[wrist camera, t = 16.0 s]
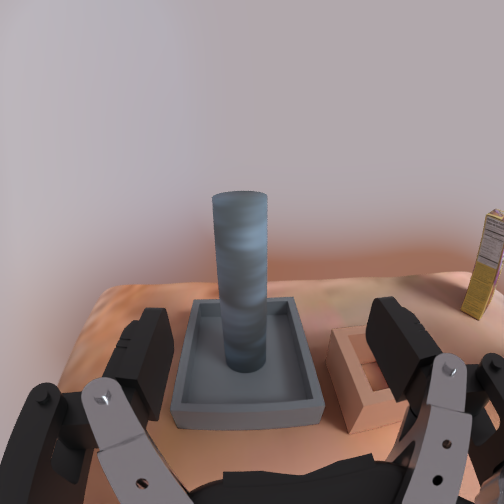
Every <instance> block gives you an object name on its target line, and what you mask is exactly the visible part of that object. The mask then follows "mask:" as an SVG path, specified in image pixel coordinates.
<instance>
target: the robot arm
mask: <svg viewBox="0 0 504 504" xmlns="http://www.w3.org/2000/svg"><path fill="white" fill-rule="evenodd" d="M365 334H366V341H367V344H368V346H369V348H370V350H371V351H372V353H373V355H374V357H375V359H376V361H377V363H378V365H379V367H380V369H381V372H382V374H383V376H384V378H385V380H386V382H387V384H388V386H389V388H390V390H391V392H392V394H393V397H394V399H395V401H396V403H398V402H402V401H405V400H408V403H409V405H408V406H407V408H406V411H405V414H404V418H403V421H402V424H401V427H400V430H399V433H398V436H397V439H396V441H395V444H394V446H393V449H392V450H391V452H390V454H389V455H388V457H387V459H386V460H385V461H374V459H373V456H372V453H370V454H366V455H362V456H358V457H354V458H350V459H346V460H341V461H337V462H335V463H333V464H331V465H328V466H326V467H323V468H321V469H318V470H316V471H313V472H311V473H308V474H305V475H289V474H280V473H273V472H266V471H247V472H223V479H221V480H216V481H213V482H210V483H207V484H204V485H202V486H200V487H198V488H196V489H194V490H192V491H191V492H189V491H188V490H187V488H186V487H185V486H184V484H183V483H182V482H181V481H180V479H179V478H178V477H177V475H176V474H175V473H174V471H173V470H172V469H171V467H170V466H169V464H168V463H167V462H166V460H165V459H164V457H163V456H162V454H161V453H160V451H159V450H158V448H157V446H156V445H155V443H154V442H153V440H152V439H151V437H150V435H149V434H148V432H147V430H146V426H147V422H148V420H150V421H158V419H159V414H160V410H161V405H162V401H163V396H164V392H165V387H166V383H167V379H168V374H169V370H170V366H171V362H172V358H173V354H174V340H173V335H172V331H171V327H170V323H169V319H168V314H167V311H166V309H165V308H145V309H144V311H143V313H142V316H141V318H140V320H139V321H138V320H133V321H132V322H131V323H130V324H129V325H128V326H127V327H126V328H124V330H123V332H122V334H121V337H120V340H119V341H118V343H117V345H116V348H115V349H114V351H113V353H112V356H111V358H110V360H109V362H108V364H107V367H106V369H105V371H104V373H103V376H102V378H97V379H94V380H92V381H91V382H89V383H88V384H87V385H86V386H85V387H84V389H83V391H81V392H72V393H61V392H60V390H59V389H58V387H57V386H56V385H54V384H52V383H41V384H39V385H37V386H36V387H34V388H33V389H32V390H31V392H30V393H29V395H28V397H27V399H26V402H25V404H24V406H23V408H22V410H21V412H20V415H19V417H18V419H17V422H16V424H15V426H14V429H13V431H12V434H11V436H10V439H9V441H8V444H7V447H6V450H5V452H4V455H3V458H2V461H1V464H0V504H83V501H84V495H85V489H86V484H87V479H88V474H89V469H90V464H91V460H92V455H93V451H94V448H99V449H100V451H99V452H97V456H98V459H99V462H100V464H101V466H102V468H103V471H104V473H105V475H106V477H107V479H108V481H109V483H110V485H111V487H112V489H113V491H114V493H115V494H116V496H117V498H118V500H119V502H120V503H121V504H504V358H503V357H501V356H500V355H498V354H495V353H488V354H486V355H485V356H484V357H483V359H482V360H481V362H480V364H467V365H465V363H464V362H463V360H462V359H460V358H459V357H458V356H456V355H454V354H450V353H443V352H442V351H441V349H440V348H439V347H438V345H437V344H436V343H435V341H434V340H433V338H432V337H431V336H430V334H429V333H428V332H427V330H426V331H425V328H424V327H423V325H422V324H420V321H419V320H418V319H417V317H416V316H415V315H414V314H413V313H412V312H410V311H409V310H407V309H406V308H404V307H401V306H400V304H399V303H398V302H397V300H396V299H395V298H394V297H392V296H391V297H382V298H375V299H374V301H373V303H372V307H371V311H370V315H369V319H368V323H367V326H366V333H365ZM489 400H490V401H491V402H492V404H493V406H494V408H495V410H496V411H497V413H498V415H499V417H500V426H499V428H498V430H497V431H496V429H495V427H494V425H493V423H492V421H491V419H490V418H489V416H488V414H487V412H486V410H485V408H484V407H485V405H486V404H487V403H488V402H489ZM56 440H57V441H56ZM55 443H56V444H55ZM54 446H55V448H54ZM53 450H54V451H53ZM52 453H53V454H52ZM467 454H469V457H470V459H471V462H472V464H473V467H474V470H475V472H476V475H477V478H478V481H479V484H480V487H481V488H480V493H479V494H478V495H477V496H476V497H475V503H473V502H471V501H468V500H466V499H464V498H462V497H460V496H458V494H459V490H460V486H461V482H462V478H463V474H464V470H465V465H466V460H467ZM51 456H52V458H51Z"/></svg>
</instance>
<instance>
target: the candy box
mask: <svg viewBox="0 0 504 504" xmlns="http://www.w3.org/2000/svg"><path fill="white" fill-rule="evenodd" d="M503 262H504V211H501V210H498V209H494V210H493V211H491V212H490V213H488V214H487V215H486V217H485V223H484V228H483V234H482V238H481V242H480V247H479V251H478V255H477V259H476V263H475V266H474V270H473V273H472V276H471V280H470V283H469V286H468V289H467V293H466V296H465V298H464V301H463V304H462V307H461V311H463V312H465V313H466V314H468V315H470V316H472V317H474V318H475V319H477V320H480V318H481V317H482V315H483V314H484V312H485V310H486V309H487V307H488V305H489V304H490V302H491V300H492V297H493V294H494V291H495V289H496V285H497V282H498V279H499V276H500V273H501V270H502V266H503Z"/></svg>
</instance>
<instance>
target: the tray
mask: <svg viewBox="0 0 504 504" xmlns="http://www.w3.org/2000/svg"><path fill="white" fill-rule="evenodd" d="M324 408H325V402H324V399H323V395H322V391H321V388H320V384H319V381H318V377H317V374H316V370H315V367H314V364H313V360H312V357H311V353H310V350H309V347H308V343H307V340H306V337H305V333H304V330H303V327H302V323H301V320H300V317H299V313H298V310H297V307H296V304H295V300H294V297H279V298H267V329H266V362H265V364H264V366H263V367H262V368H261V369H259V370H257V371H255V372H252V373H239V372H236V371H234V370H232V369H231V368H229V366H228V365H227V363H226V357H225V348H224V339H223V329H222V319H221V309H220V299H207V300H194V301H193V305H192V309H191V313H190V318H189V322H188V326H187V330H186V335H185V339H184V344H183V348H182V353H181V357H180V362H179V367H178V372H177V376H176V381H175V386H174V391H173V396H172V401H171V407H170V412H171V414H172V416H173V419H174V421H175V423H176V426H177V428H181V429H196V430H260V429H276V428H288V427H297V426H306V425H313V424H319V423H320V420H321V417H322V414H323V411H324Z"/></svg>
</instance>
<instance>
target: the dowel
mask: <svg viewBox="0 0 504 504" xmlns="http://www.w3.org/2000/svg"><path fill="white" fill-rule="evenodd" d="M212 202H213V219H214V235H215V248H216V261H217V275H218V286H219V298H220V309H221V319H222V329H223V339H224V348H225V357H226V363H227V365H228V366H229V368H231V369H232V370H234V371H236V372H239V373H252V372H255V371H257V370H259V369H261V368H262V367H263V366H264V364H265V362H266V329H267V195H266V194H264V193H261V192H254V191H233V192H225V193H220V194H216V195H214V196H213V197H212Z"/></svg>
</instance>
